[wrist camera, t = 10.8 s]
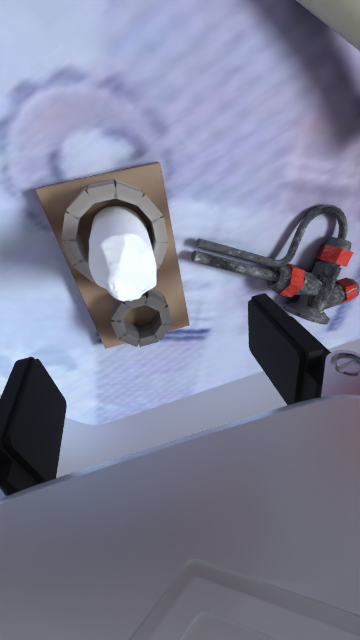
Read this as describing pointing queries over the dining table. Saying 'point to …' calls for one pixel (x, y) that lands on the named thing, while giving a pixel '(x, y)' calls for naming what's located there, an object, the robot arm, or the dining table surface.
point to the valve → (297, 270)
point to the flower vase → (338, 17)
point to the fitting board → (95, 291)
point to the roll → (121, 253)
